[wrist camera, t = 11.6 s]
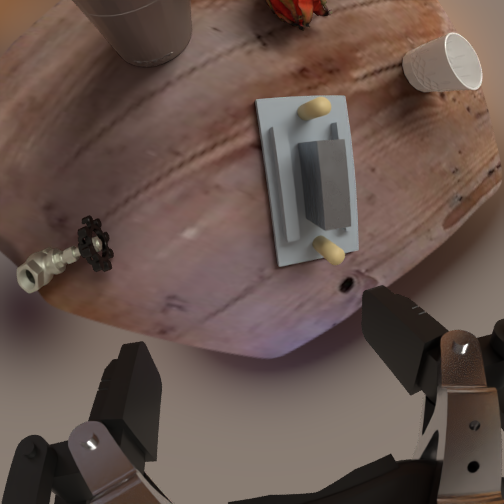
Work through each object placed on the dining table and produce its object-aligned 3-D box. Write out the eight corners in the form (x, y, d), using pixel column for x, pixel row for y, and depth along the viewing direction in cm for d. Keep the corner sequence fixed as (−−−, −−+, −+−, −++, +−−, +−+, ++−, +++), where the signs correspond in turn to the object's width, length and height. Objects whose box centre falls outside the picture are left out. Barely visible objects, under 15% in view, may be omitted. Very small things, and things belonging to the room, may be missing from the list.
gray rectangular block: (297, 142, 31) (316, 140, 26) (321, 141, 32) (344, 139, 26) (305, 218, 34) (325, 231, 29) (328, 214, 35) (351, 226, 29)
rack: (254, 101, 30) (265, 89, 24) (341, 97, 31) (365, 88, 25) (277, 263, 37) (290, 283, 31) (355, 247, 38) (378, 263, 32)
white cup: (392, 72, 31) (439, 58, 21) (406, 38, 29) (450, 21, 20) (428, 106, 33) (477, 102, 23) (440, 71, 31) (485, 62, 22)
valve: (50, 286, 33) (119, 259, 33) (29, 308, 26) (103, 280, 27) (30, 242, 30) (99, 209, 31) (5, 259, 24) (78, 221, 25)
